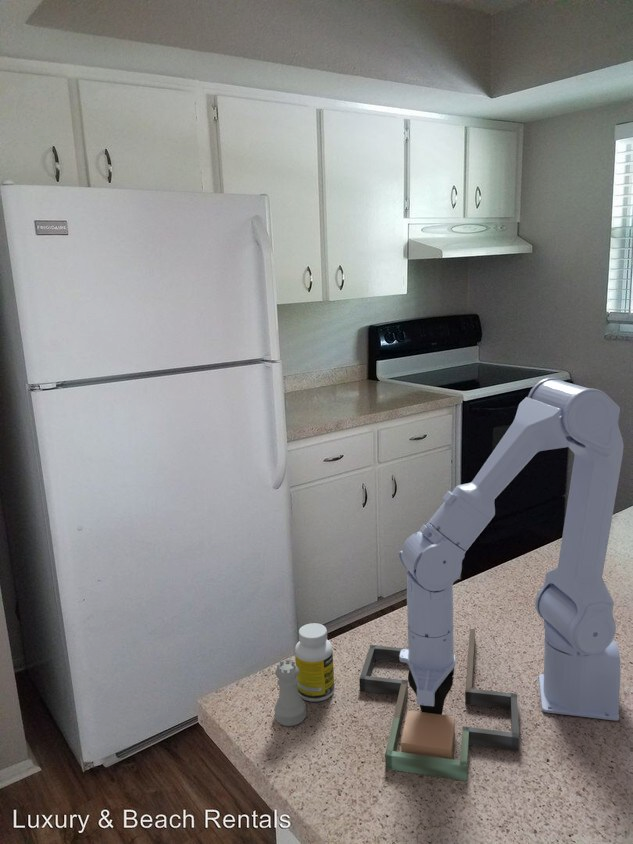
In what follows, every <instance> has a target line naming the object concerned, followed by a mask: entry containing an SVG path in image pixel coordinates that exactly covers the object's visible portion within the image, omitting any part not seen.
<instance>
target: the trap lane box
mask: <svg viewBox="0 0 633 844" xmlns="http://www.w3.org/2000/svg"><path fill="white" fill-rule="evenodd" d="M468 635H469V636H468V646H467V647H468V649H467V661H466V662H467V663H466V665H467V666H466V674H465V675H466V676H465V689H464V690H465V693H464V699H465V701H464V703H465V705H469V706H477V707H484V708H492V709H501V710H502V709H503V710H510V725H511V731H502V730H495V729H489V728H488V729H487V728H481V727H473V726H464V725H462V729H461V742H460V755H459V756H460V757H459V758H460V759H459V760H457V759H453V758H452V759H446V758H439V757H432V756H425V755H417V754H410V753H403V752H401V751H397V747H398V744H399V737H400V733H401V729H402V722H403V718H404V714H405V709H406V704H407V700H408V694H409V688H408V687H409V682H408V679H397V678H389V677H379V676H372V675H371V674H372V672H373V668H374V664H375V661H382V662H393V663H402V664H405V663H404V662H401V661H400V660H399V655H400V651H401V650H402V649H408V648H406V647H405V648H404V647H396V646H395V647H394V646H384V645H374V644H370V645H369V648H368V651H367V654H366V656H365V657H366V658H365V660H364V663H363V666H362V670H361V672H360V676H359V678H358V679H359V691H360V692H365V693H366V692H368V693H375V694H376V693H377V694H385V695H392V696H397V700H396V704H395V709H394V713H393V717H392V722H391V727H390V731H389V734H388V739H387V744H386V749H385V754H384V765H385V769H386V770H392V771H398V772H404V773H410V774H418V775H425V776H430V775H431V776H432V777H438V778H445V779H451V780H458V781H464V782H467V781H468V770H469V769H468V768H469V766H468V765H469V748H470V746H475V747H481V748H489V749H496V750H503V751H511V752H518V753H519V752H520V731H519V730H520V729H519V728H520V727H519V712H518V711H519V709H518V708H519V707H518V706H519V705H518V693H515V692H506V691H504V692H503V691H495V690H488V689H479V688H473V682H474V680H473V679H474V663H475V648H476V646H475V645H476V628H469V634H468Z"/></svg>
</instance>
